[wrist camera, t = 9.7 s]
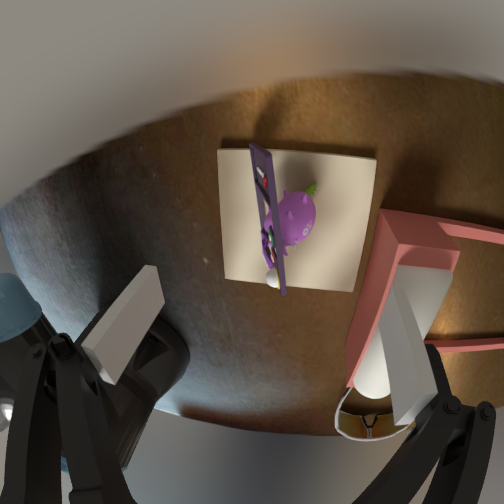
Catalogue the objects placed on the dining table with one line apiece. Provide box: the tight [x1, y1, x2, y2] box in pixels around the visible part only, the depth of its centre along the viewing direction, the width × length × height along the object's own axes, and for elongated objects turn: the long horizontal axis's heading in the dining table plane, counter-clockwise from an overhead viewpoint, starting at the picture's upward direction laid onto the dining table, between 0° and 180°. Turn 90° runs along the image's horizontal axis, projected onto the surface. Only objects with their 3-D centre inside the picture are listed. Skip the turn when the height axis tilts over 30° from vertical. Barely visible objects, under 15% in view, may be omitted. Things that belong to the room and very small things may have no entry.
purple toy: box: [249, 142, 317, 295], centre depth 18 cm, size 7×5×9 cm
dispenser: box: [345, 208, 504, 399], centre depth 19 cm, size 26×16×8 cm, turn 91°
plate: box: [217, 148, 377, 292], centre depth 22 cm, size 12×12×1 cm
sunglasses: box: [335, 387, 412, 441], centre depth 32 cm, size 14×15×5 cm
